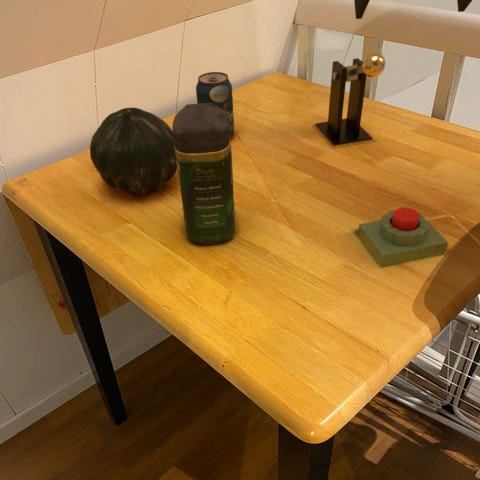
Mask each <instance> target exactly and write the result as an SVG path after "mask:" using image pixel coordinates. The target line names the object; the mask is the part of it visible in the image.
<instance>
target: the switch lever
mask: <svg viewBox="0 0 480 480" xmlns="http://www.w3.org/2000/svg"><path fill="white" fill-rule="evenodd" d="M362 62H363V65H362V66H360V67H357V65H353V64H352V65H353V66H352V65H347V66H345V67H346V68H347V75H346V83H351V81H354V80H358V74H361V73H365V74H366V75H367V76H368V78H377V77H379V76H380V75H382V73H383V72H384V71H385V68H386V58H385V57H384V56H383V54H381V53H379V52H372V53H370V54H368V55H367V56H366V57H365V58H364V60H363V61H362Z"/></svg>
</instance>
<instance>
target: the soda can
mask: <svg viewBox="0 0 480 480" xmlns="http://www.w3.org/2000/svg"><path fill="white" fill-rule="evenodd" d="M232 85H233V84H232V83H231V81H230V79H229V75H228V74H227V73H225V72H221V71H210V72H205V73H202V74H200V75H199V76H198V77H197V84H196V86H195V92H196V93H195V94H196V104H202V103H213V104H215V106H217V107H219V108H221V109H222V110H223V111H224V112H225V113H226V115H227V118H228V122H229V129H230V141H232V138H233V137H234V135H235V116H234V101H233V98H234V97H233V86H232Z"/></svg>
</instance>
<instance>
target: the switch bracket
mask: <svg viewBox="0 0 480 480" xmlns="http://www.w3.org/2000/svg"><path fill="white" fill-rule="evenodd" d="M363 62H364V61H362V60H361V59H360V58H359V57H357V58H353V59H352V65H351V66H353V65H357V67H360V66H362V65H363ZM346 75H347V68H346V66H345V65H343V64H342V63H341V62H340V61H338V60H335V61H334V60H333V61H332V68H331V77H330V78H331V80H330V90H329V103H328V116H327V121H322V122H317V123H316V122H315V126H316V128H317V129H318V130H319V131H320V132H321V133H322V135H323V136H324V137H325V138H326V139H327V140H328V142H330V143H331V145H332V146H333V147H335V146H343V145H348V144H354V143H360V142H365V141H371V140H373V137H372V136H371V135H370V134H369V133H368V132H367V131H366V130H365V129H364V128H363V127H362V126H361V122H362V114H363V108H364V100H365V91H366V86H367V85H366V84H367V75H366V74H365V73H361V74H358V80H354V81H351V82H349V83H350V84H349V93H348V104H347V109H346V111H347V112H346V118H343V115H344V113H343V112H344V104H345V103H344V102H345V95H346V84H347V82H346Z"/></svg>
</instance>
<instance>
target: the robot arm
mask: <svg viewBox="0 0 480 480" xmlns="http://www.w3.org/2000/svg"><path fill="white" fill-rule="evenodd" d="M456 1H457V2H456V3H457V12H458V13H461V12H465V11H466V9H467V8H468V7H469V5H471V3H472V1H473V0H456ZM353 2H354V12H355V14H354V15H355V19H356V20H361V19H363V16H364V14H365V12H366V10H367V8H368V5H369V3H370V0H354V1H353Z"/></svg>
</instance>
